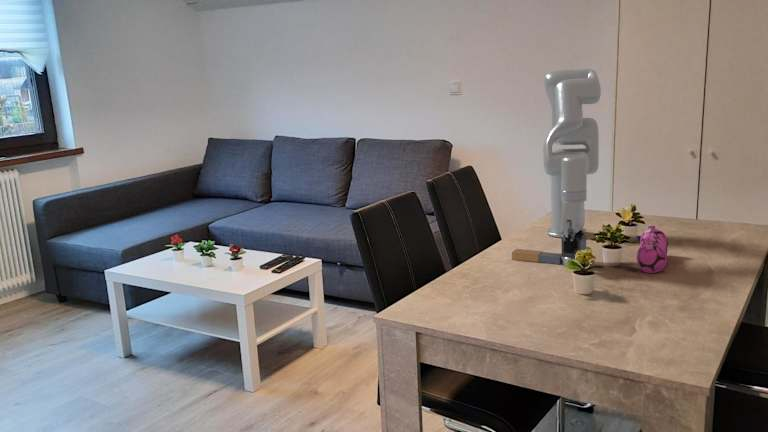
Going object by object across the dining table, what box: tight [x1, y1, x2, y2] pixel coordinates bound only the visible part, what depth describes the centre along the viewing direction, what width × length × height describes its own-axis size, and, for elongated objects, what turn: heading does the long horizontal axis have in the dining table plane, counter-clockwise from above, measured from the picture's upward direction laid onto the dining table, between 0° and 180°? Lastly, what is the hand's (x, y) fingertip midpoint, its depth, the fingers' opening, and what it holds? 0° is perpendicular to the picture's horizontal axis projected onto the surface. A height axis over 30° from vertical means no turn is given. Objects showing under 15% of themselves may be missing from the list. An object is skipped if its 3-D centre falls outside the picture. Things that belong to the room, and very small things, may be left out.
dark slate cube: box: [561, 234, 587, 258], centre depth 208 cm, size 6×6×6 cm
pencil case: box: [635, 224, 669, 274], centre depth 204 cm, size 21×10×10 cm, turn 159°
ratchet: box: [511, 248, 575, 267], centre depth 213 cm, size 24×8×7 cm, turn 58°
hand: (573, 248), depth 208 cm, fingers open, 9 cm apart
